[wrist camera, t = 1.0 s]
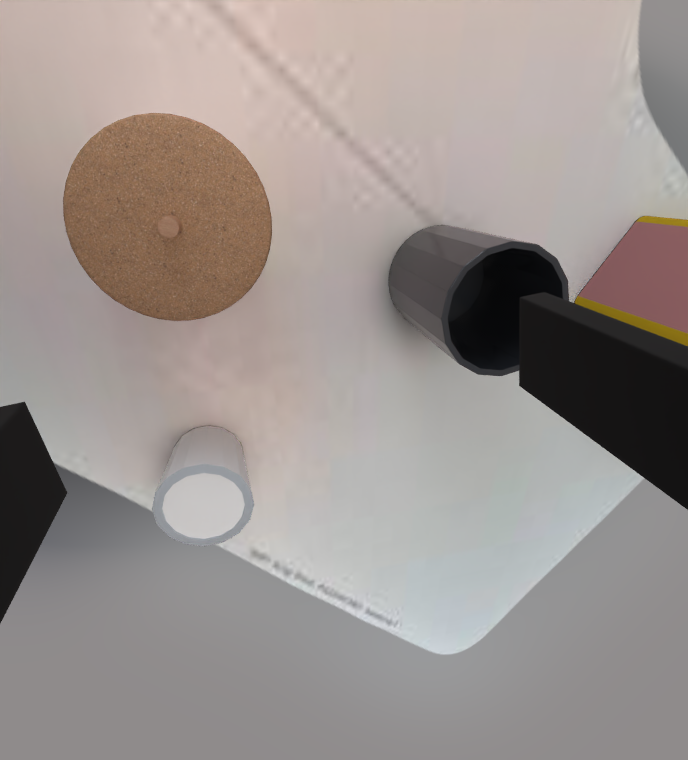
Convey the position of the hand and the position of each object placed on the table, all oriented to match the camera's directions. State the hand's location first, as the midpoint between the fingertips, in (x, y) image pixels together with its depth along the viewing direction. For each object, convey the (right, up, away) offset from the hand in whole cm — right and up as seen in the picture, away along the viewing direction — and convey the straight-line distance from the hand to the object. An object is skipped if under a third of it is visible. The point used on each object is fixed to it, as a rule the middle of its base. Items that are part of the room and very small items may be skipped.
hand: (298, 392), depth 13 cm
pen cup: (+9, +8, +26) cm, 28 cm away
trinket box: (-10, +12, +21) cm, 25 cm away
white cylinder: (-10, -6, +28) cm, 30 cm away
